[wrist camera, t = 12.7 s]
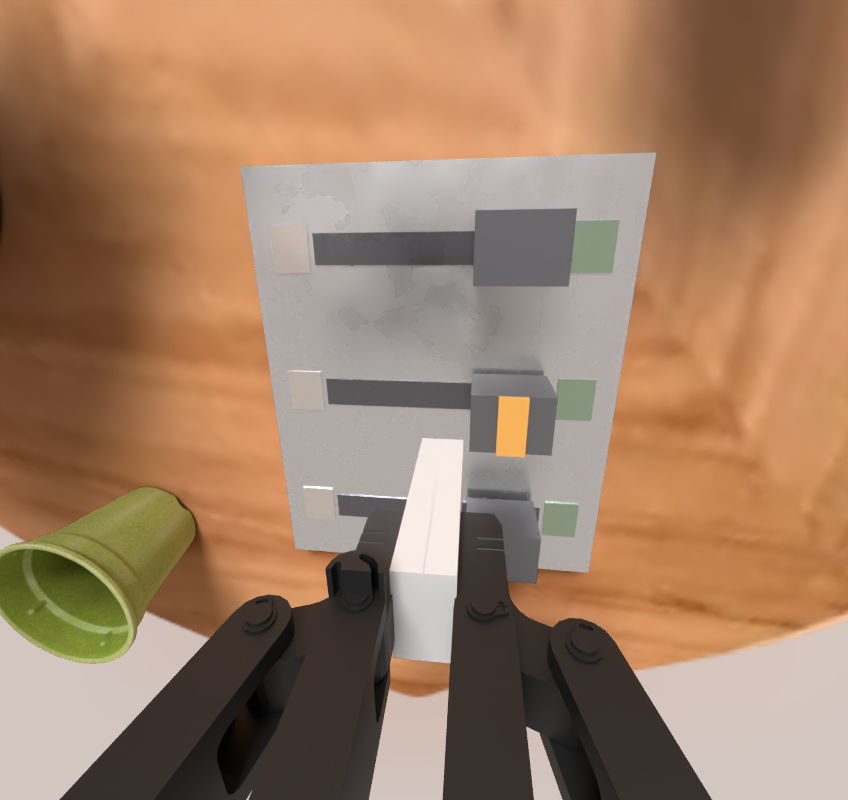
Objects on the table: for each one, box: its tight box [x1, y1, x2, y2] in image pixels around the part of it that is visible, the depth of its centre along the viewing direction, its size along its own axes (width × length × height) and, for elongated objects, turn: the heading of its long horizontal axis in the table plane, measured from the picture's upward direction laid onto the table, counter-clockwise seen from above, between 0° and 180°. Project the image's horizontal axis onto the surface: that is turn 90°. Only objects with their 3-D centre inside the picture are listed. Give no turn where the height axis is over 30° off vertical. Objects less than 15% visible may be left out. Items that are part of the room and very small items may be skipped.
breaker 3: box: [466, 497, 541, 584], centre depth 25 cm, size 4×3×4 cm
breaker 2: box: [469, 374, 558, 457], centre depth 22 cm, size 4×3×4 cm
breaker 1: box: [473, 208, 577, 287], centre depth 19 cm, size 4×3×4 cm
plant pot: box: [0, 487, 196, 664], centre depth 29 cm, size 9×9×9 cm
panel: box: [240, 152, 657, 573], centre depth 25 cm, size 20×24×2 cm
